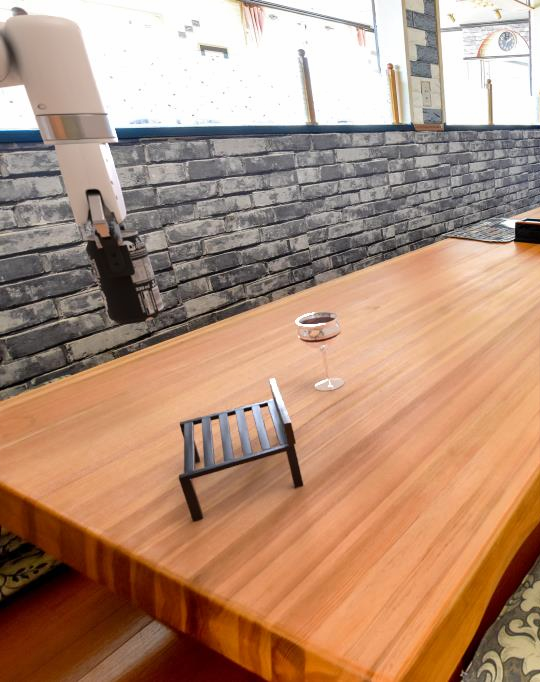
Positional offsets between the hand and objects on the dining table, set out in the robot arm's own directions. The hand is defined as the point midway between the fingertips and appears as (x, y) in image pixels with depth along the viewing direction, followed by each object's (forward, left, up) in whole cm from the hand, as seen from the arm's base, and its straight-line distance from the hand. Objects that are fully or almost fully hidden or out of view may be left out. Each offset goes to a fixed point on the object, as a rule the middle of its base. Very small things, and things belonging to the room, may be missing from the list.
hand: (123, 269), depth 73 cm
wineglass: (+24, -2, -24) cm, 34 cm away
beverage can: (0, 0, -7) cm, 7 cm away
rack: (+9, -22, -24) cm, 34 cm away
